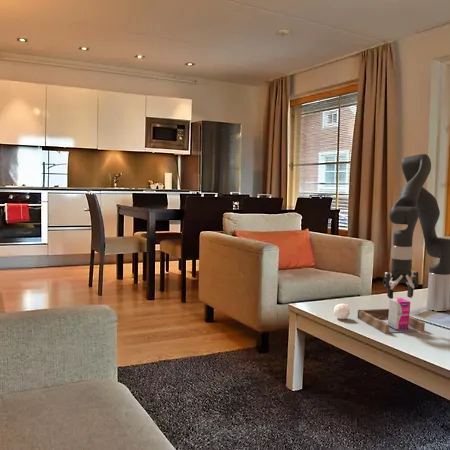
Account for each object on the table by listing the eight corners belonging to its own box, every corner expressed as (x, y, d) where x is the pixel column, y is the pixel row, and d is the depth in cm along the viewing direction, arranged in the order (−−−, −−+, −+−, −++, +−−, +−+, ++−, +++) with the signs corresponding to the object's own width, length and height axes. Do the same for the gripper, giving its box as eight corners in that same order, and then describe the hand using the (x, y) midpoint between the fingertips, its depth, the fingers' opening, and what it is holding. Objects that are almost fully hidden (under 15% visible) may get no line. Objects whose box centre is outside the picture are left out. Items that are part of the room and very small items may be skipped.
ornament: (337, 315, 204) (348, 302, 203) (345, 325, 199) (356, 312, 197) (327, 309, 201) (339, 296, 200) (335, 319, 195) (347, 306, 194)
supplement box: (396, 330, 184) (397, 302, 183) (387, 326, 189) (388, 298, 188) (409, 329, 185) (410, 301, 184) (399, 325, 191) (401, 297, 190)
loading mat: (377, 326, 190) (377, 325, 190) (404, 324, 193) (404, 324, 193) (389, 333, 181) (389, 332, 181) (418, 331, 184) (418, 330, 184)
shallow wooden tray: (357, 318, 201) (357, 310, 201) (392, 316, 205) (393, 308, 205) (385, 333, 180) (385, 325, 180) (424, 331, 184) (424, 323, 184)
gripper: (412, 255, 190) (410, 294, 191) (380, 256, 186) (378, 296, 188) (424, 258, 182) (421, 299, 184) (391, 259, 179) (389, 301, 181)
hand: (400, 297), depth 186 cm, fingers open, 8 cm apart
